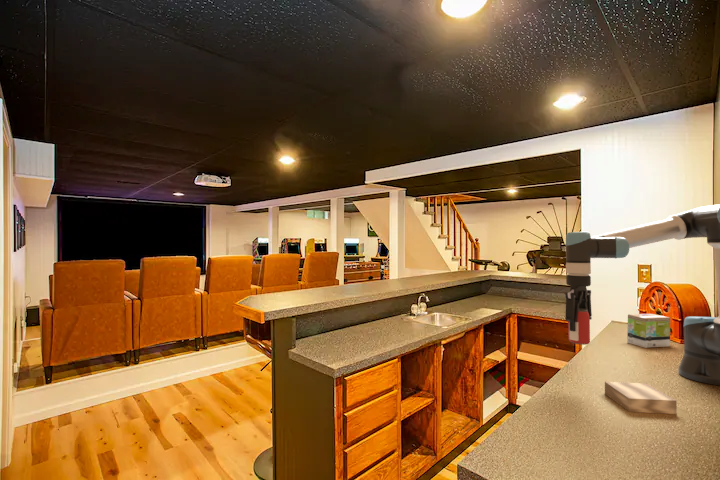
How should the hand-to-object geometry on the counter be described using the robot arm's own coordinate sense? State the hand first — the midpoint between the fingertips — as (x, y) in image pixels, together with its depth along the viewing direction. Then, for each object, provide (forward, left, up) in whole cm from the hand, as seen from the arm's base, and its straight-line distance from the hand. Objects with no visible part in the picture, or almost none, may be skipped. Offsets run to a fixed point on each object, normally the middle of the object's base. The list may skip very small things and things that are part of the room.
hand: (579, 338), depth 127 cm
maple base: (-11, +13, -17) cm, 24 cm away
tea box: (-59, -57, -17) cm, 84 cm away
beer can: (0, 0, -2) cm, 2 cm away
